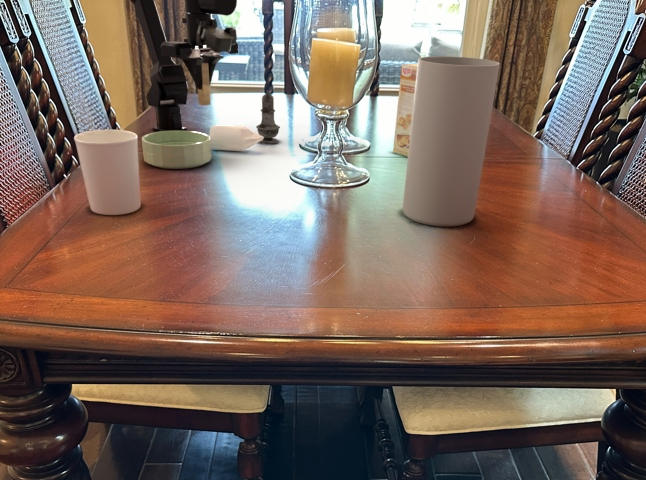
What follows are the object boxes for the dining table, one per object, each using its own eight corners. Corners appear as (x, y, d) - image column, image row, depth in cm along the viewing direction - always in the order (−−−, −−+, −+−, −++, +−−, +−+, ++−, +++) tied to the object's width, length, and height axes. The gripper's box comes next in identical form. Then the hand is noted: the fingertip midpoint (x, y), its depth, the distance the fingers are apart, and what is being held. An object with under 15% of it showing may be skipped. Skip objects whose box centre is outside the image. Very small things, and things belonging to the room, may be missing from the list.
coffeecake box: (413, 159, 141) (424, 67, 132) (391, 152, 146) (399, 64, 136) (454, 150, 150) (466, 64, 140) (431, 144, 155) (442, 60, 145)
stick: (198, 104, 144) (195, 63, 140) (204, 103, 146) (202, 62, 141) (204, 105, 143) (201, 63, 139) (210, 104, 144) (208, 63, 140)
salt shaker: (281, 139, 153) (281, 88, 147) (278, 145, 148) (277, 92, 142) (258, 138, 154) (257, 87, 148) (254, 143, 149) (253, 91, 143)
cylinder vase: (429, 232, 100) (451, 67, 87) (388, 209, 109) (402, 57, 97) (488, 222, 105) (517, 65, 92) (444, 201, 115) (464, 55, 102)
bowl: (130, 160, 131) (127, 136, 129) (183, 150, 141) (181, 127, 138) (172, 174, 124) (170, 149, 121) (224, 161, 133) (223, 138, 131)
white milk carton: (260, 155, 139) (260, 130, 136) (209, 152, 140) (208, 127, 137) (266, 149, 144) (266, 125, 141) (216, 146, 145) (215, 121, 142)
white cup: (156, 203, 108) (149, 133, 102) (123, 220, 100) (113, 145, 94) (109, 195, 110) (99, 127, 104) (73, 211, 102) (60, 138, 96)
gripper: (190, 15, 124) (196, 97, 132) (254, 14, 137) (256, 88, 145) (155, 13, 130) (163, 91, 138) (219, 12, 143) (223, 83, 151)
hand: (203, 88), depth 143 cm, fingers closed on stick, 2 cm apart
